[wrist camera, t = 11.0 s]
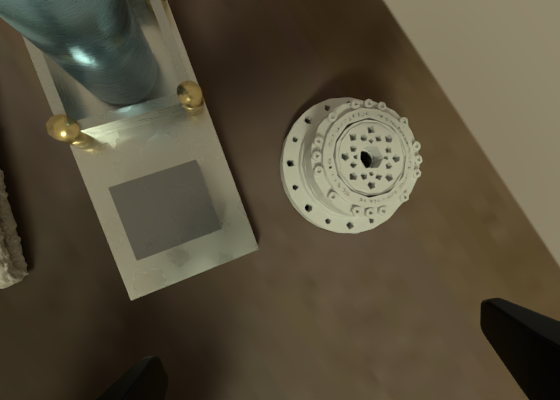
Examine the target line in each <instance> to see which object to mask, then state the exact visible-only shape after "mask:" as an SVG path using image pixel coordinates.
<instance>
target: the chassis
mask: <svg viewBox="0 0 560 400" xmlns="http://www.w3.org/2000/svg"><path fill="white" fill-rule="evenodd" d="M128 2H129V4H130V6H131V8H132V10H133V12H134V14H135V16H136V18H137V20H138V23H139V25H140V27H141V29H142V31H143V33H144V35H145V37H146V39H147V41H148V43H149V45H150V47H151V50H152V52H153V54H154V56H155V58H156V61H157V64H158V79H157V82H156V84H155V86H154V88H153V90H152V91H151V92H150V93H149V94H148V95H147V96H146V97H145V98H143V99H142V100H140V101H137V102H135V103H131V104H125V105H119V104H112V103H108V102H105V101H103V100H101V99H99V98H97V97H96V96H94V95H93V94H92V93H91V92H89V91H88V90H87V89H86V88H85V87H83V86H82V85H81V84H80V83H79V82H77V81H76V80H75V79H74V78H73V77H72V76H70V75H69V74H68V73H67V72H66V71H64V70H63V69H62V68H61V67H60V66H58V65H57V64H56V63H55V62H54V61H52V60H51V59H50V58H49V57H48V56H47V55H45V54H44V53H43V52H42V51H41V50H39V49H38V48H37V47H36V46H35V45H33V44H32V43H31V42H30V41H29V40H27V39H26V38H25V37H24V36H23V35H22V36H23V39H24V41H25V44H26V46H27V49H28V51H29V54H30V56H31V59H32V62H33V64H34V67H35V69H36V72H37V74H38V77H39V79H40V82H41V84H42V87H43V89H44V92H45V95H46V97H47V100H48V102H49V105H50V107H51V110H52V112H53V115H54V116H52V117H51V118H50V119H49V120H48V121H47V124H46V129H47V132H48V133H49V135H50V136H51V137H53V138H55V139H57V140H60V141H62V142H65V143H67V144H70V147H71V149H72V152H73V155H74V157H75V160H76V162H77V165H78V167H79V170H80V172H81V175H82V177H83V180H84V183H85V185H86V188H87V190H88V193H89V195H90V198H91V200H92V203H93V205H94V208H95V210H96V213H97V216H98V218H99V221H100V223H101V226H102V228H103V231H104V233H105V236H106V238H107V241H108V244H109V246H110V249H111V251H112V254H113V256H114V259H115V261H116V264H117V266H118V269H119V272H120V274H121V277H122V279H123V282H124V284H125V287H126V289H127V292H128V294H129V297H130V300H131V301H132V300H134V299H137V298H139V297H142V296H144V295H146V294H149V293H151V292H154V291H156V290H159V289H161V288H164V287H166V286H169V285H171V284H174V283H176V282H179V281H181V280H184V279H186V278H189V277H191V276H194V275H196V274H199V273H201V272H204V271H206V270H209V269H211V268H214V267H216V266H219V265H221V264H223V263H226V262H228V261H231V260H233V259H236V258H238V257H241V256H243V255H246V254H248V253H251V252H253V251H256V250H258V249H259V248H258V245H257V242H256V240H255V237H254V234H253V231H252V229H251V226H250V223H249V221H248V218H247V215H246V212H245V210H244V207H243V204H242V202H241V199H240V196H239V193H238V191H237V188H236V185H235V183H234V180H233V177H232V175H231V172H230V169H229V166H228V164H227V161H226V158H225V156H224V153H223V150H222V147H221V145H220V142H219V139H218V137H217V134H216V131H215V128H214V126H213V123H212V120H211V118H210V115H209V112H208V109H207V107H206V104H205V101H204V99H203V95H202V91H201V88H200V86H199V85H198V82H197V80H196V77H195V74H194V72H193V69H192V66H191V63H190V61H189V58H188V55H187V53H186V50H185V47H184V44H183V42H182V39H181V36H180V34H179V31H178V28H177V26H176V23H175V20H174V17H173V15H172V12H171V9H170V7H169V4H168V1H167V0H128Z"/></svg>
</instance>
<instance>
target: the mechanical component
mask: <svg viewBox="0 0 560 400" xmlns="http://www.w3.org/2000/svg"><path fill="white" fill-rule="evenodd" d="M305 121H306V122H307V123H306V122H305ZM407 124H408V120H407V118H405V117H402V118H401V117H400V116H399V115H398V114H397V113H396V112H395V111H394V110H391V109H389V108H387V107H386V104H385V103H384V102H379V103H377V102H374V101H372V100H371V99H367V100H365V101H363V100H359V99H355V98H351V97H345V98H333V99H328V100H325V101H323V102H321V103H318V104H316V105H314V106H313V107H311V108H310V109H309V110H307V111H306V112H305V113H303V114H302V116H301V117H300V118H299V119H298V120H297V121H296V122H295V123H294V124H293V126H292V128H291V130H290V131H289V133H288V135H287V137H286V138H285V140H284V142H283V147H282V153H281V158H280V173H281V180H282V183H283V187H284V190H285V192H286V194H287V196H288V198H289V200H290V202H291V203H292V205H293V207H294V208H295V209H296V210H297V211H298V212H299V213H300V214H301V215H302V216H303V217H304V218H305V219H306V220H308V221H309V222H311V223H313V224H314V225H316V226H318V227H321V228H324V229H327V230H330V231H333V232H338V233H359V232H362V231H366V230H369V229H373V228H375V227H376V226H378V225H379V224H381V223H383V222H384V221H386V220H387V219H389V218H390V217H391V216H392V214H393V213H394V212H395V211H396V210H397V208H398V207H399V206H400V205H401V204H402V203H403V202H405V201H407V200H409V194H410V193H411V191H412V189H413V187H414V184H415V182H416V180H417V178H418V177H420V175H421V172H420V170H419V164H420V163H421V162H422V157H421V156H419V154H418V150H419V149H420V147H421V146H420V143H418V142H417V141H415V138H414V136H413V134H412V131H411V130H410V128H409V126H408V125H407ZM293 141H294V142H293ZM361 155H362V157H363V160H364V165H363V163H362V161H361V160H360V156H361ZM287 162H290V164H291V167H288V165H287ZM293 186H294V188H295V190H293ZM306 205H307V206H308V210H307V211H306V210H305V206H306ZM346 225H347V226H346Z"/></svg>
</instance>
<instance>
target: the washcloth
mask: <svg viewBox="0 0 560 400" xmlns="http://www.w3.org/2000/svg"><path fill="white" fill-rule="evenodd" d="M5 188H6V186H5V184H4V174H3V171H2V170H1V169H0V289H1V288H6V287H9V286H11V285H13V284H15V283H18V282H20V281H21V280H22V279H23V277H24V276H26V275H29V273H28V272H27V269H26V267H27V263H26V262H25V258H24V257H23V255H22V246H21V244H20V241H21V238H20V237H18V234H17V231H16V227H17V224H16V222H15V220H14V218H13V214H12V212H11V207H10V204H9V203H8V200H7V196H8V193H7V192H6V191H5Z"/></svg>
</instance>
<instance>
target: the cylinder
mask: <svg viewBox="0 0 560 400" xmlns="http://www.w3.org/2000/svg"><path fill="white" fill-rule="evenodd" d="M0 17H1V18H2V19H4V20H5V21H6V22H7V23H8V24H10V25H11V26H12V27H13V28H14V29H16V30H17V31H18V32H19V33H20V34H22V35H23V36H24V37H25V38H26V39H27V40H29V41H30V42H31V43H32V44H33V45H35V46H36V47H37V48H38V49H39V50H41V51H42V52H43V53H44V54H45V55H47V56H48V57H49V58H50V59H51V60H52V61H54V62H55V63H56V64H57V65H58V66H60V67H61V68H62V69H63V70H64V71H66V72H67V73H68V74H69V75H70V76H72V77H73V78H74V79H75V80H76V81H77V82H79V83H80V84H81V85H82V86H83V87H85V88H86V89H87V90H88V91H89V92H91V93H92V94H93V95H94V96H96V97H97V98H99V99H101V100H103V101H105V102H108V103H112V104H119V105H125V104H131V103H135V102H137V101H140V100H142V99H143V98H145V97H146V96H147V95H148V94H149V93H150V92H151V91H152V90H153V88H154V86H155V84H156V82H157V79H158V64H157V61H156V58H155V56H154V54H153V52H152V50H151V47H150V45H149V43H148V41H147V39H146V37H145V35H144V33H143V31H142V29H141V27H140V25H139V23H138V20H137V18H136V16H135V14H134V12H133V10H132V8H131V6H130V4H129V2H128V0H0Z"/></svg>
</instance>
